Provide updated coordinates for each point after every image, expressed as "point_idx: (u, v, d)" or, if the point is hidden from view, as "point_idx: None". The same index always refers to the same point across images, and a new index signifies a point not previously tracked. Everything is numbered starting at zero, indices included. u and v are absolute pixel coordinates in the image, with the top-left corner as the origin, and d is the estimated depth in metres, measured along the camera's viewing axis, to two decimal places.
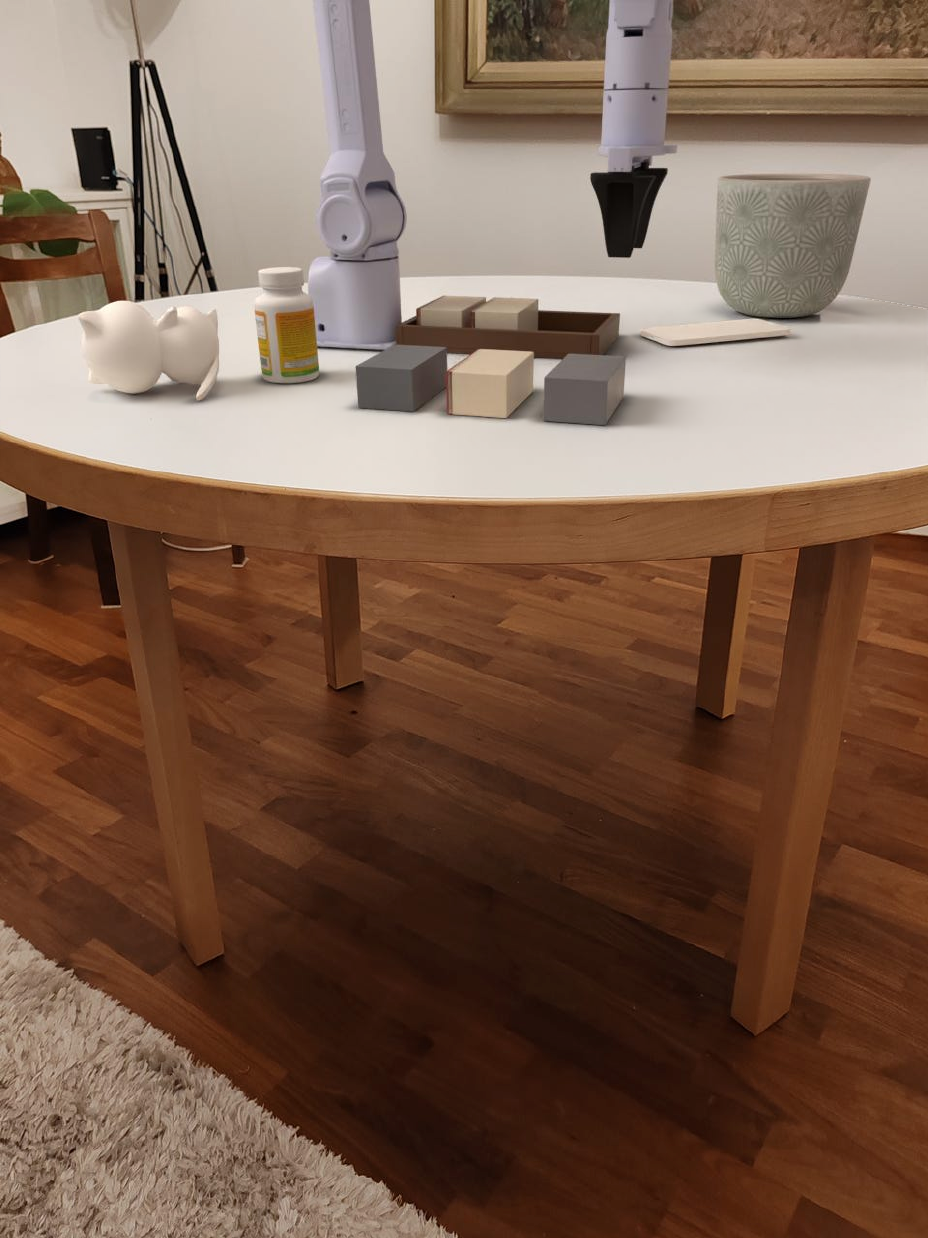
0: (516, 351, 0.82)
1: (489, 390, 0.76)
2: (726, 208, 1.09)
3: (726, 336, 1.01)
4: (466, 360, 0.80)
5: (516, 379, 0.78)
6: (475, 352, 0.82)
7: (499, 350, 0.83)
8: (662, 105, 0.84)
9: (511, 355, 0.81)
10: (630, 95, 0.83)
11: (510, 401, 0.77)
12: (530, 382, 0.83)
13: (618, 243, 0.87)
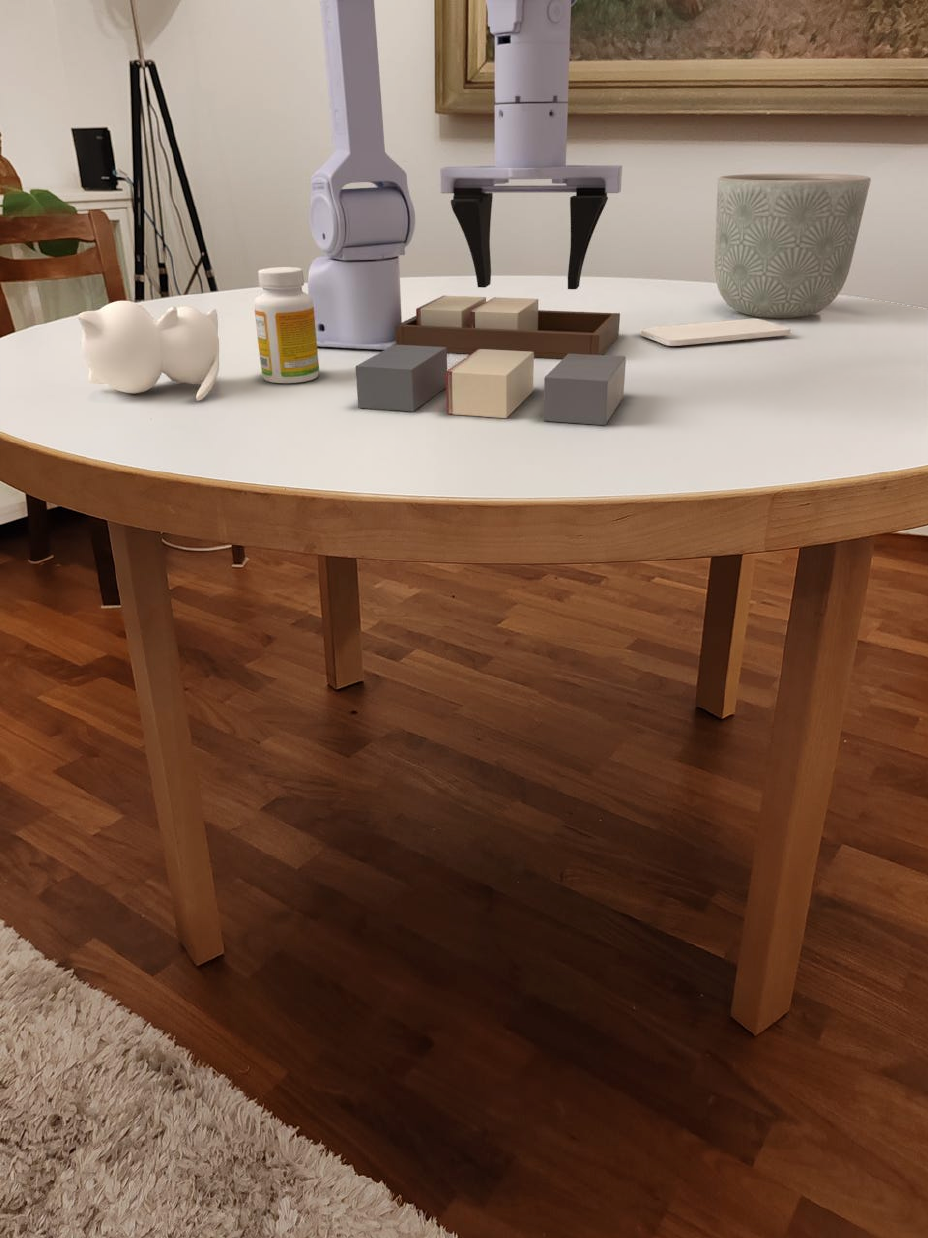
0: (516, 351, 0.82)
1: (489, 390, 0.76)
2: (726, 207, 1.09)
3: (726, 336, 1.01)
4: (466, 360, 0.80)
5: (516, 379, 0.78)
6: (475, 352, 0.82)
7: (499, 350, 0.83)
8: (510, 121, 0.73)
9: (511, 355, 0.81)
10: None
11: (510, 401, 0.77)
12: (530, 382, 0.83)
13: None
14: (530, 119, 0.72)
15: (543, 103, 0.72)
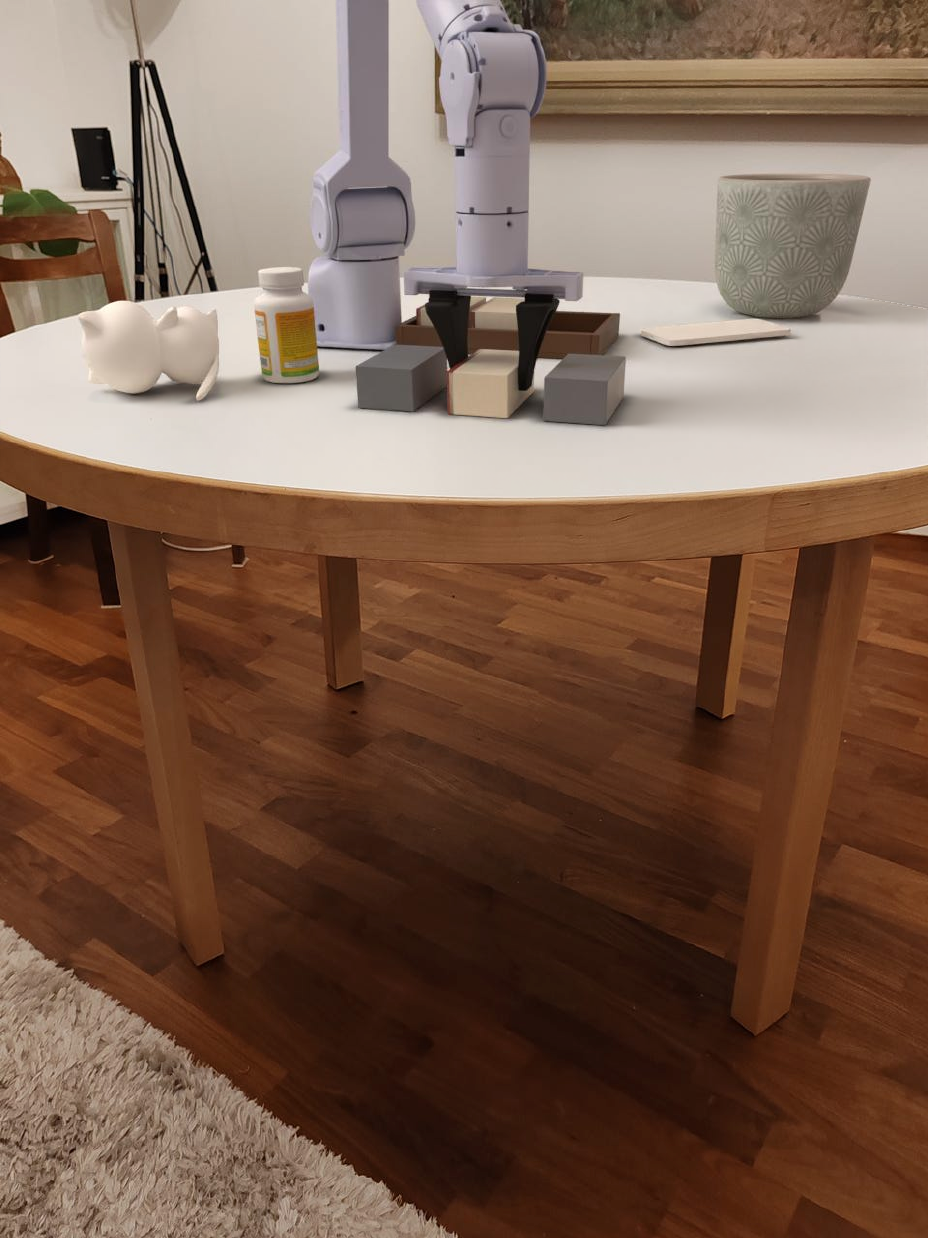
0: (517, 351, 0.82)
1: (490, 390, 0.76)
2: (726, 207, 1.09)
3: (726, 336, 1.01)
4: (467, 360, 0.80)
5: (517, 379, 0.78)
6: (476, 352, 0.82)
7: (500, 350, 0.83)
8: (469, 231, 0.73)
9: (512, 355, 0.81)
10: None
11: (511, 401, 0.77)
12: None
13: None
14: (487, 230, 0.72)
15: (500, 215, 0.72)
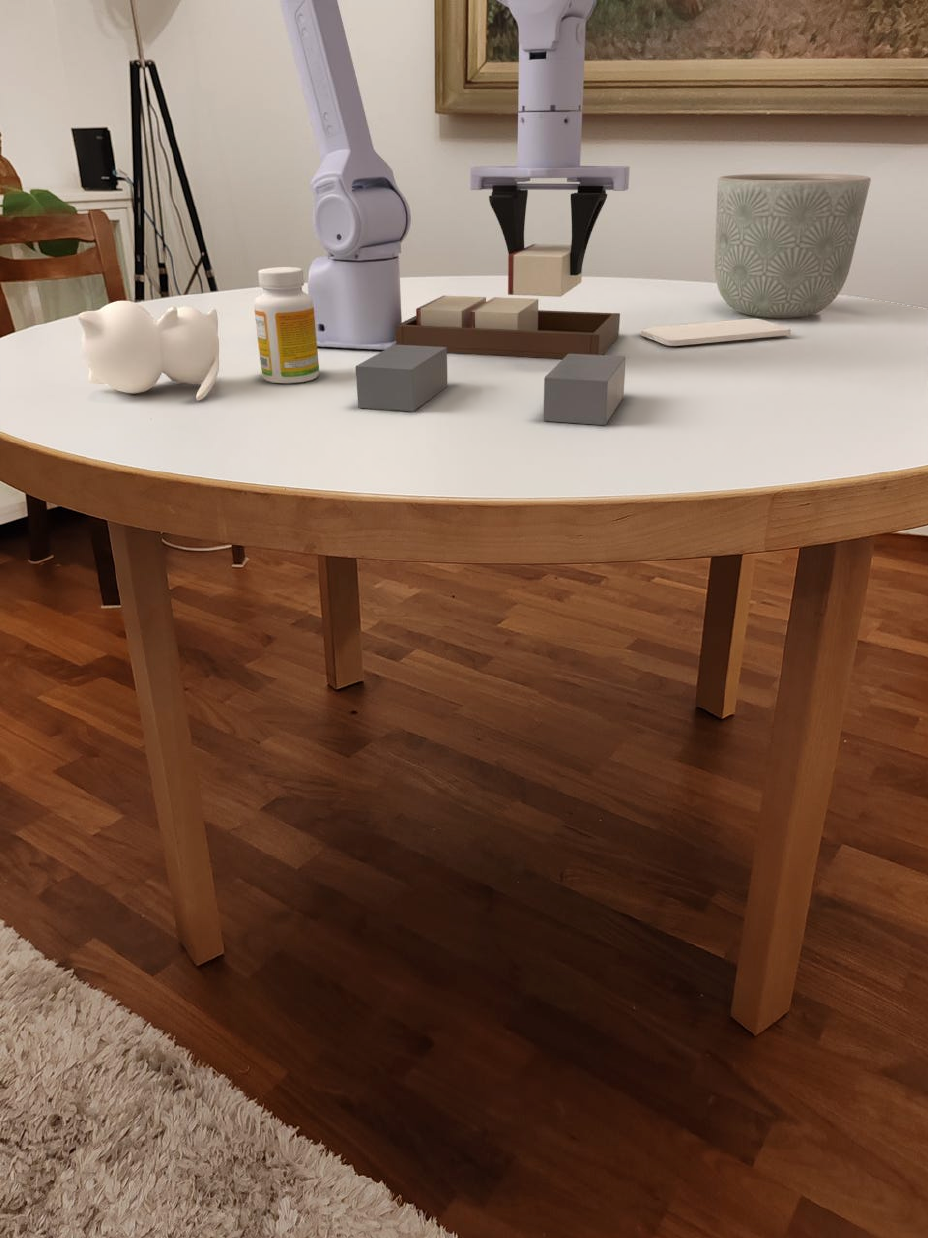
0: (567, 245, 0.93)
1: (546, 270, 0.86)
2: (726, 207, 1.09)
3: (726, 336, 1.01)
4: (524, 249, 0.90)
5: (569, 264, 0.88)
6: (530, 245, 0.93)
7: None
8: (530, 127, 0.83)
9: (563, 247, 0.92)
10: None
11: (564, 282, 0.87)
12: None
13: None
14: (547, 125, 0.82)
15: (559, 111, 0.82)
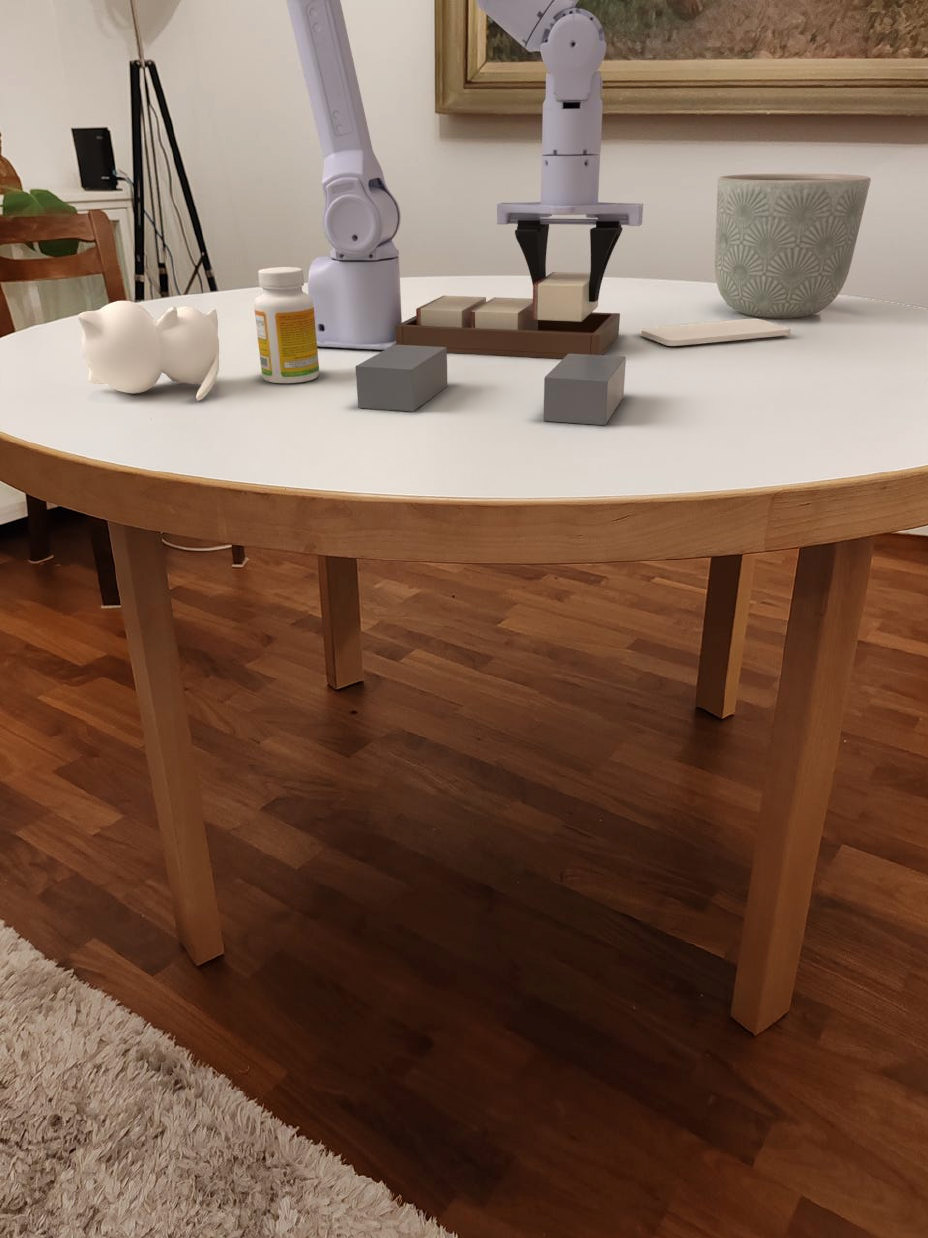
0: (585, 273, 1.01)
1: (568, 298, 0.95)
2: (726, 208, 1.09)
3: (726, 336, 1.01)
4: (546, 278, 0.98)
5: (588, 291, 0.97)
6: (551, 273, 1.01)
7: None
8: (553, 169, 0.92)
9: (581, 275, 1.00)
10: None
11: (584, 308, 0.96)
12: None
13: None
14: (569, 168, 0.91)
15: (579, 155, 0.90)
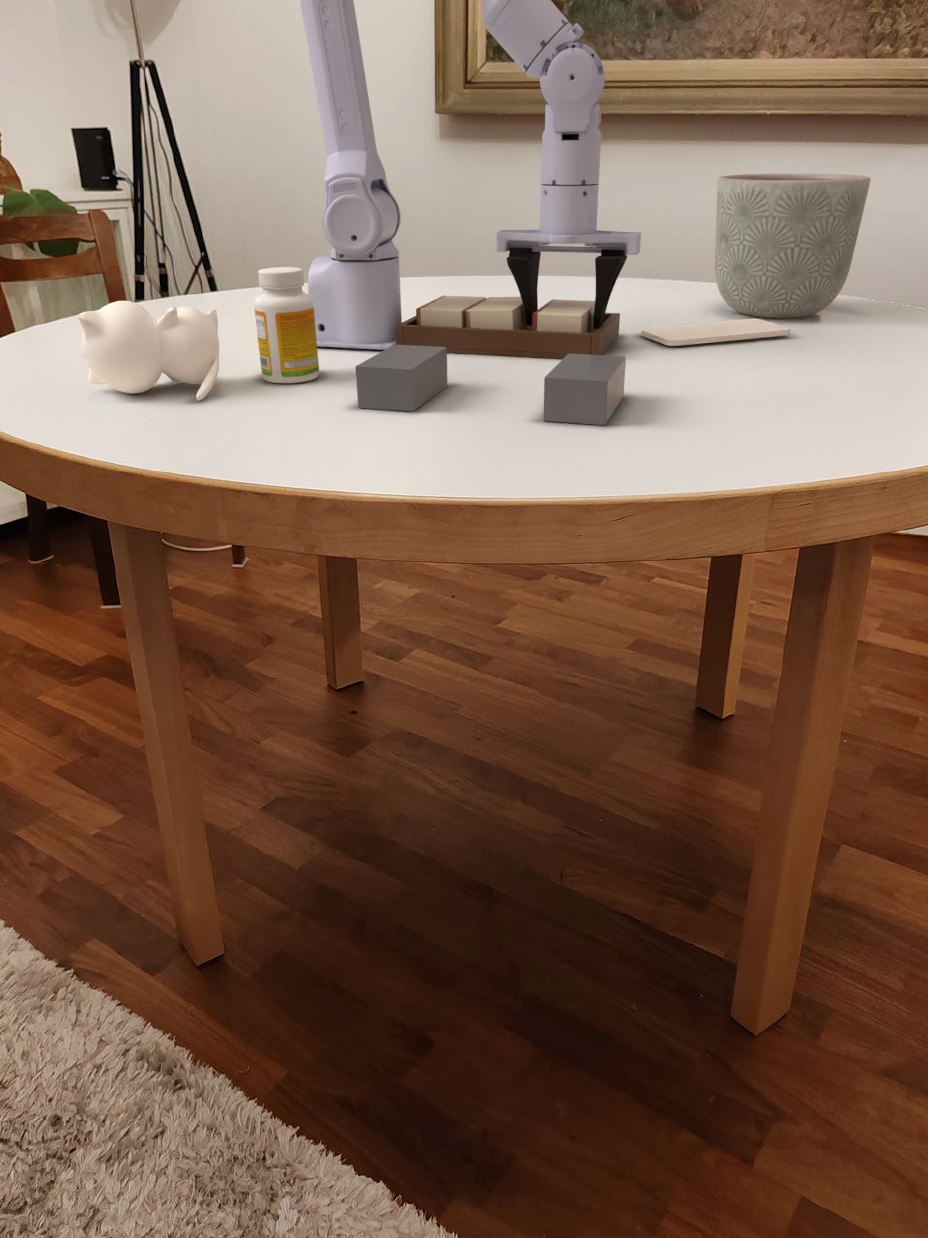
0: None
1: (567, 327, 0.96)
2: (726, 207, 1.09)
3: (726, 336, 1.01)
4: (545, 306, 1.00)
5: (587, 320, 0.98)
6: (550, 301, 1.03)
7: (569, 300, 1.03)
8: (552, 199, 0.93)
9: (580, 303, 1.01)
10: None
11: None
12: None
13: None
14: (568, 198, 0.92)
15: (578, 186, 0.92)
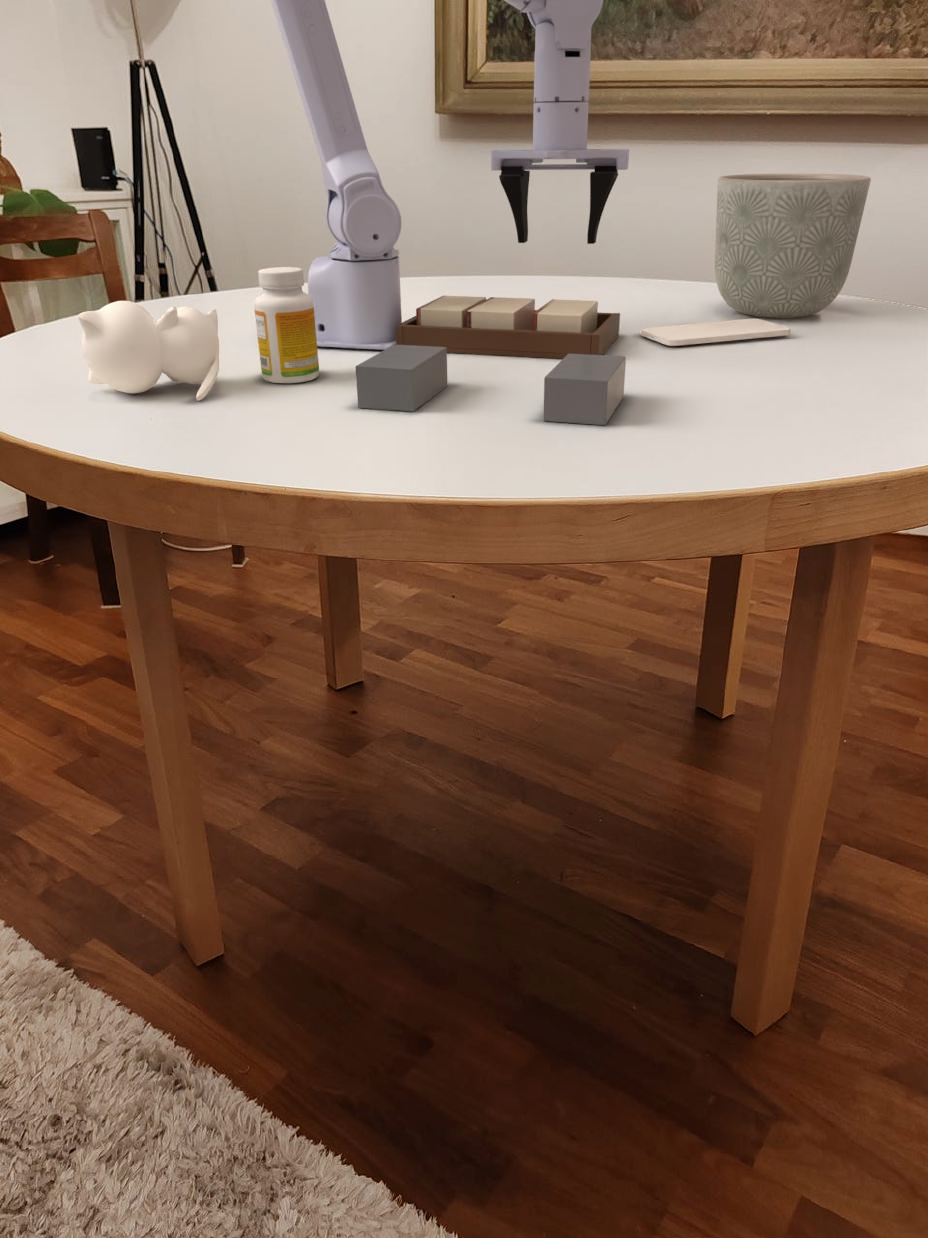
0: None
1: (567, 327, 0.96)
2: (726, 207, 1.09)
3: (726, 336, 1.01)
4: (545, 306, 1.00)
5: (587, 320, 0.98)
6: (550, 301, 1.03)
7: (569, 300, 1.03)
8: (546, 115, 0.97)
9: (580, 303, 1.01)
10: None
11: None
12: (595, 325, 1.03)
13: None
14: (561, 114, 0.97)
15: (570, 102, 0.96)
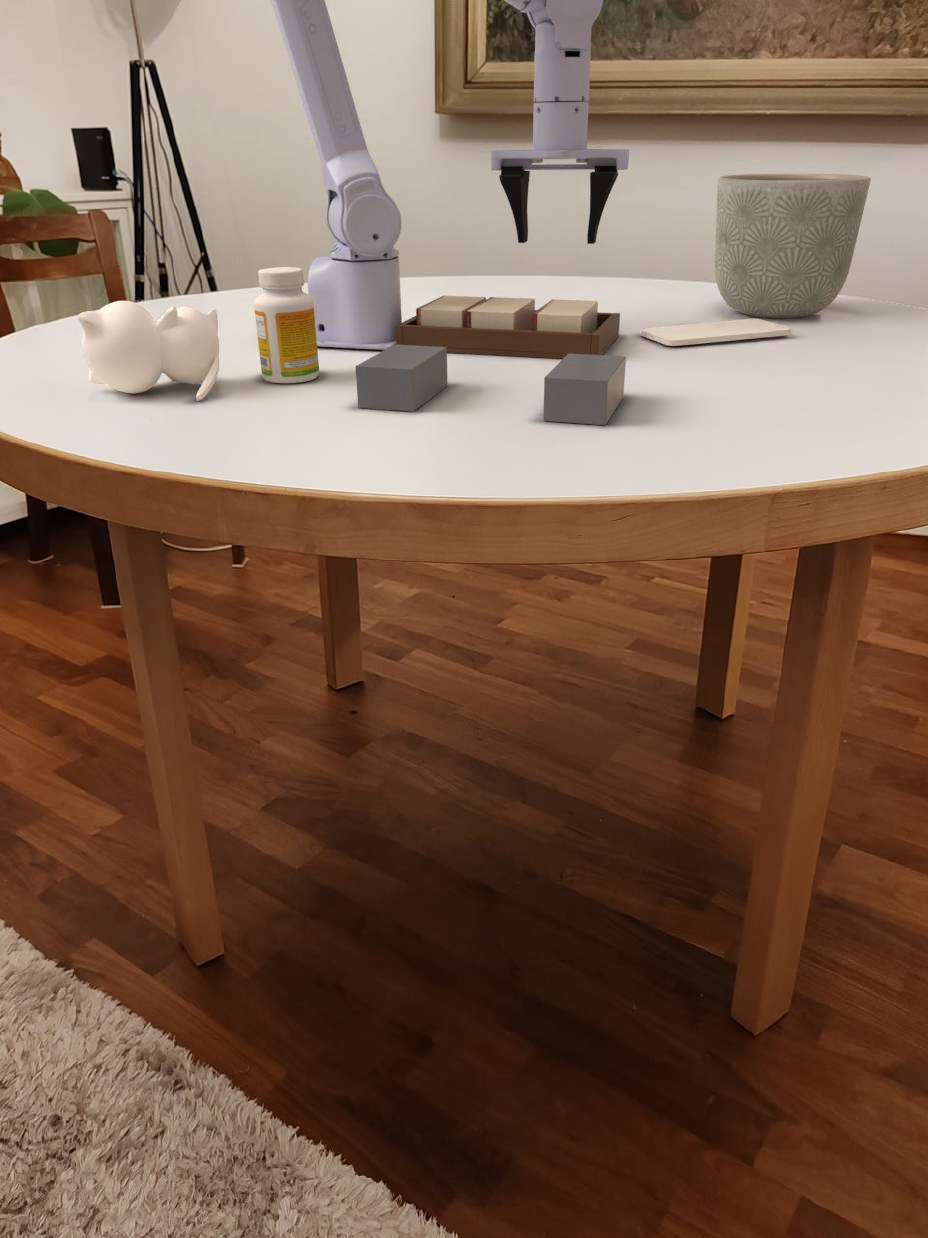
0: None
1: (567, 327, 0.96)
2: (726, 208, 1.09)
3: (726, 336, 1.01)
4: (545, 306, 1.00)
5: (587, 320, 0.98)
6: (550, 301, 1.03)
7: (569, 300, 1.03)
8: (546, 115, 0.97)
9: (580, 303, 1.01)
10: None
11: None
12: (595, 325, 1.03)
13: None
14: (561, 114, 0.97)
15: (570, 102, 0.96)
